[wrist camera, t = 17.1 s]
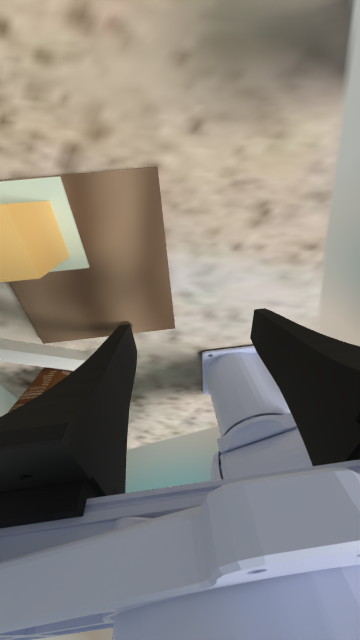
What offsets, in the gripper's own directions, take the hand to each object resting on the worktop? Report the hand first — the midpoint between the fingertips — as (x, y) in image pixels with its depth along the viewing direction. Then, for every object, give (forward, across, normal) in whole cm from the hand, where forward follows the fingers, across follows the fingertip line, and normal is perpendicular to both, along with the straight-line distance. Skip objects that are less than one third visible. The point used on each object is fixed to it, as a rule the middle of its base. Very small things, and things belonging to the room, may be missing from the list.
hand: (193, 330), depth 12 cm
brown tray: (+9, +8, -2) cm, 12 cm away
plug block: (+8, +11, -5) cm, 15 cm away
